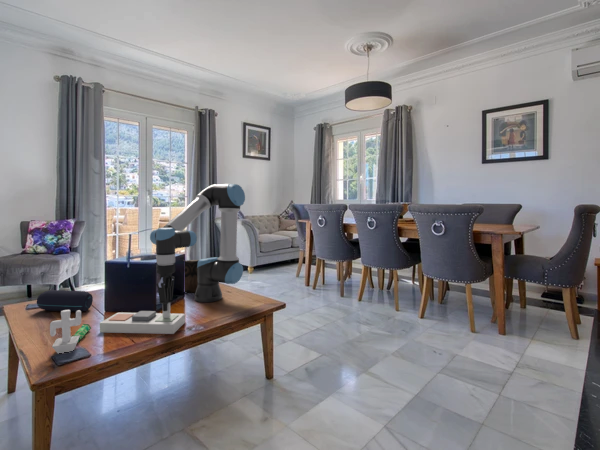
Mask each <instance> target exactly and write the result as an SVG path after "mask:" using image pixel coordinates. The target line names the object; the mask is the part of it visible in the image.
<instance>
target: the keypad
mask: <svg viewBox="0 0 600 450" xmlns="http://www.w3.org/2000/svg"><path fill="white" fill-rule="evenodd" d="M136 313H137V312H123V311H121V312H116V313H114V314H113V315H111V316H109V317H108V318H106V319H103V320H102V321H101V322H99V333H106V334H107V333H112V334H113V333H114V334H115V333H116V334H122V333H124V334H156V335H157V334H162V335H165V334H166V335H174V334H175V333H176V332H177V331H178V330H179V329H180V328H181V327H182V326H183V325H184V324H186V313H173V312H172V313H171V312H170V315H178V317H177V318H176V319H175V320H174V321H173V322H155V320H157V319H158V318H159V317H160V316H162V315H163V312H162V313H161V312H156V316H155V317H154V318H153V319H151V320H150V321H149V322H145V321H132V317H131V318H129V319H128V320H126V321H109V319H111V318H112V317H114V316H116V315H117V314H134V315H135V314H136Z"/></svg>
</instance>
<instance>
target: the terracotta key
mask: <svg viewBox="0 0 600 450" xmlns="http://www.w3.org/2000/svg"><path fill="white" fill-rule="evenodd" d="M133 315H134V314H117V315H116V316H114V317H112V318H111V319H109V321H126V320H128V319H129V318H131V317H132V316H133Z"/></svg>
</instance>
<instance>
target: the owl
mask: <svg viewBox="0 0 600 450" xmlns="http://www.w3.org/2000/svg"><path fill="white" fill-rule="evenodd" d="M199 260H200V259H189V260H188V259H187V260H184V261H185V292H186V293H185V294H195V293H196V289H197V286H198V276H197V266H198V261H199Z"/></svg>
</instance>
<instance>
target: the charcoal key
mask: <svg viewBox="0 0 600 450" xmlns="http://www.w3.org/2000/svg"><path fill="white" fill-rule="evenodd" d="M135 313H136V314H135V315H133V316H132V321H145V322H149V321H150V320H151V319H153V318H154V317H155V316H156V313H157V311H156V310H139V311H138V312H135Z"/></svg>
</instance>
